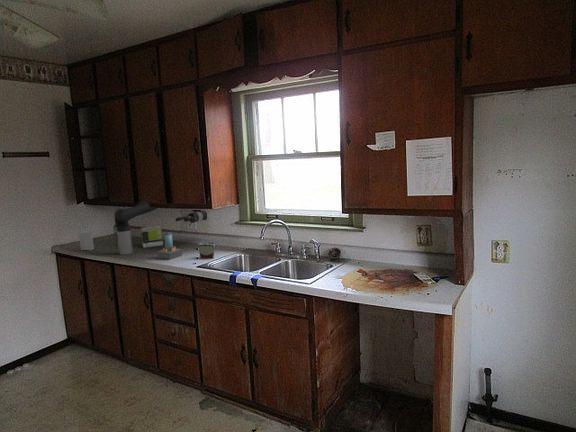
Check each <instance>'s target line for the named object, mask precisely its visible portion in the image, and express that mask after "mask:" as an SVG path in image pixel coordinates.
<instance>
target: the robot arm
mask: <svg viewBox="0 0 576 432" xmlns="http://www.w3.org/2000/svg"><path fill="white" fill-rule="evenodd" d="M157 209H158V208H153V207H150V206H149V204H148V202H147V201H145V200H143V201H141V202H139V203H138V204H136V205H135V206H132V207H129V208H119V209H116V210H115V211H114V223H115V224H114V225H115V228H116V232H117V234H116V235H117V248H118V249H117V250H118V255H121V256H122V255H123V256H124V255H130V254H133V253H134V247H133V239H132V229H131V225H130V224H129V221H130V220H132V219H134V218H136V217H138V216H142V215H144V214H147V213H150V212H153V211H155V210H157ZM191 211H192V212H190V213H188V215H183V216H177V218H175V222H179V221H180V222H181V221H182V222H185V223H187V222H189V223H191V224H192V223H197V222H199V223H200V222H201V221H202V222H203V221H207V220H206V219H207V213H206V211H201V210H191Z"/></svg>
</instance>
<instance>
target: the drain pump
mask: <svg viewBox="0 0 576 432" xmlns="http://www.w3.org/2000/svg"><path fill="white" fill-rule="evenodd" d="M173 241H174V240H173V233H172V232H164V248H165V249H167V251H171V249H172V248H173V247H174V246H173Z"/></svg>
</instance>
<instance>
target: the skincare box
mask: <svg viewBox="0 0 576 432" xmlns="http://www.w3.org/2000/svg"><path fill="white" fill-rule="evenodd" d="M77 235H78V240H79V246H80V251H81V250H89V251H93V250H95V245H94V240H93V235H92V230H87V231H80V232H78V233H77ZM92 249H93V250H92Z"/></svg>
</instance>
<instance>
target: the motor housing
mask: <svg viewBox="0 0 576 432" xmlns="http://www.w3.org/2000/svg"><path fill="white" fill-rule="evenodd" d="M156 255H157V259H160V260H167V261H168V260H169V261H170V260H173V259H176V258H179V257H181V256H183V252H182V249H181V248H176V246H173V248H172V249H171V251H167V249H165V247H163V248H162V250H159V251H157V252H156Z"/></svg>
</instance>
